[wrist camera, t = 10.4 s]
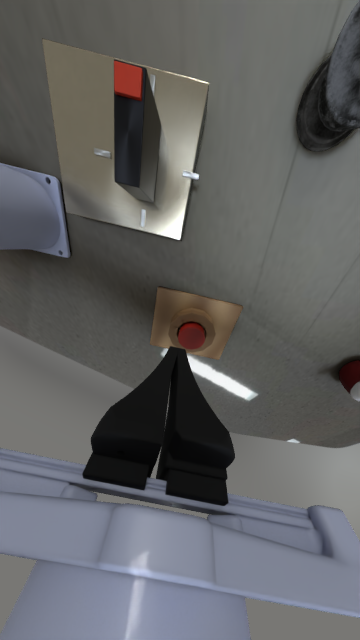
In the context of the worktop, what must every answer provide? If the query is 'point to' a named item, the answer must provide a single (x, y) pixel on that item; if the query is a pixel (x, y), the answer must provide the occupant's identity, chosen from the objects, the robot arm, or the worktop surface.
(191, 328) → the button
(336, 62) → the salt shaker
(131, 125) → the knob
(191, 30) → the worktop surface
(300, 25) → the worktop surface
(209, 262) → the worktop surface
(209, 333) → the button block
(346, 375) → the cocoa
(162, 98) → the panel
